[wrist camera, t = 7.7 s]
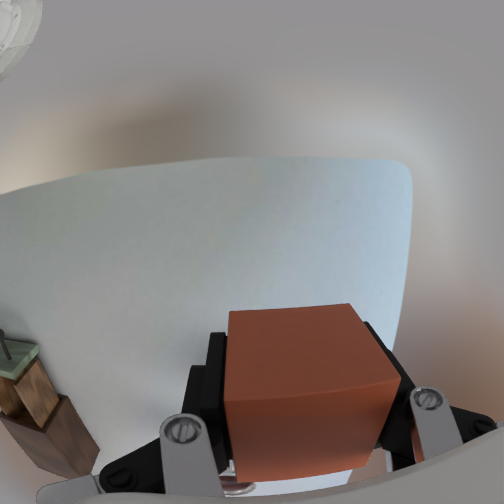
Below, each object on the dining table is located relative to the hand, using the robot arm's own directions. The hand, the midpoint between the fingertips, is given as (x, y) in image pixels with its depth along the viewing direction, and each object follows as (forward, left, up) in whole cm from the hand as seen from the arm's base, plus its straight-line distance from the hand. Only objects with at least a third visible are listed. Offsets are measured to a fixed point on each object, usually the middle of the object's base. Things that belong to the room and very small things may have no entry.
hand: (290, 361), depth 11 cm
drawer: (+30, -32, -20) cm, 48 cm away
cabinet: (+43, -28, -21) cm, 56 cm away
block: (0, 0, 0) cm, 0 cm away
